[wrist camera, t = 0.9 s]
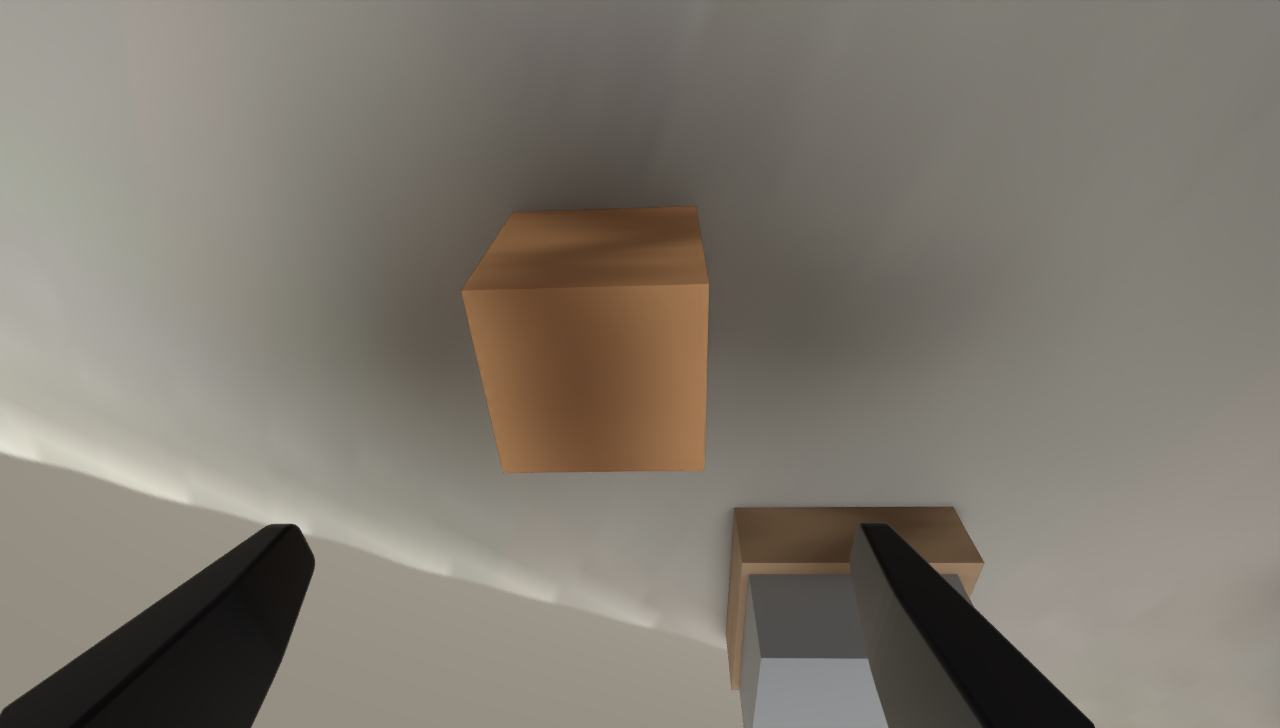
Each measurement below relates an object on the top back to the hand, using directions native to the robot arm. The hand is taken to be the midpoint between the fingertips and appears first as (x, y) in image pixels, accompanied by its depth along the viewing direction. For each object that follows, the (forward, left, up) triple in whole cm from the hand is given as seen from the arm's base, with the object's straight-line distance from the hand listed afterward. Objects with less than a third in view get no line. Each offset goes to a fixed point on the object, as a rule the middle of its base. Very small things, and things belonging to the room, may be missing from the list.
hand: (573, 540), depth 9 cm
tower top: (-8, +13, -7) cm, 17 cm away
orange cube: (0, 0, -9) cm, 9 cm away
